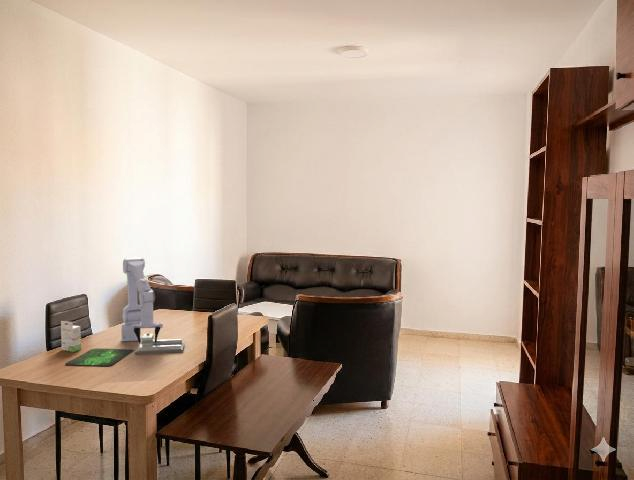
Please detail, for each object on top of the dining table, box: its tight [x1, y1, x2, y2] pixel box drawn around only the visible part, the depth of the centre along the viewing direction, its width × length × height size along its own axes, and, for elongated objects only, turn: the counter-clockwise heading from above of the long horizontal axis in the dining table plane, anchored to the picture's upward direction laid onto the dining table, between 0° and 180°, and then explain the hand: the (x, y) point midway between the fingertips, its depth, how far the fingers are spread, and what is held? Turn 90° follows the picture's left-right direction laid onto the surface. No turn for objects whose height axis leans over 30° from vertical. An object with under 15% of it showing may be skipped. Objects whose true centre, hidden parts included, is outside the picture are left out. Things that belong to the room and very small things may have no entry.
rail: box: [137, 338, 183, 351], centre depth 256 cm, size 20×12×2 cm, turn 101°
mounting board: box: [135, 342, 185, 355], centre depth 256 cm, size 22×13×1 cm, turn 101°
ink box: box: [60, 320, 82, 353], centre depth 254 cm, size 9×5×15 cm, turn 65°
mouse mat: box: [65, 347, 135, 367], centre depth 243 cm, size 27×22×1 cm
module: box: [141, 331, 155, 347], centre depth 255 cm, size 5×8×7 cm, turn 12°
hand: (147, 342), depth 254 cm, fingers open, 7 cm apart
